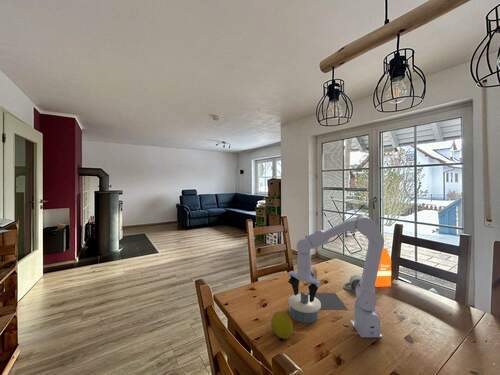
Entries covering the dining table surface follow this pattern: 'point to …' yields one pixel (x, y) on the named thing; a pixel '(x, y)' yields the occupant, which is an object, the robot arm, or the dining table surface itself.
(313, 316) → the blue pet bowl
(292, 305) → the white lid
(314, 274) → the architectural model
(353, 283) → the ceramic mug
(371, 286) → the robot arm
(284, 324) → the lemon
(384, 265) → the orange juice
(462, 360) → the dining table surface
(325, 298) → the rubber mat
